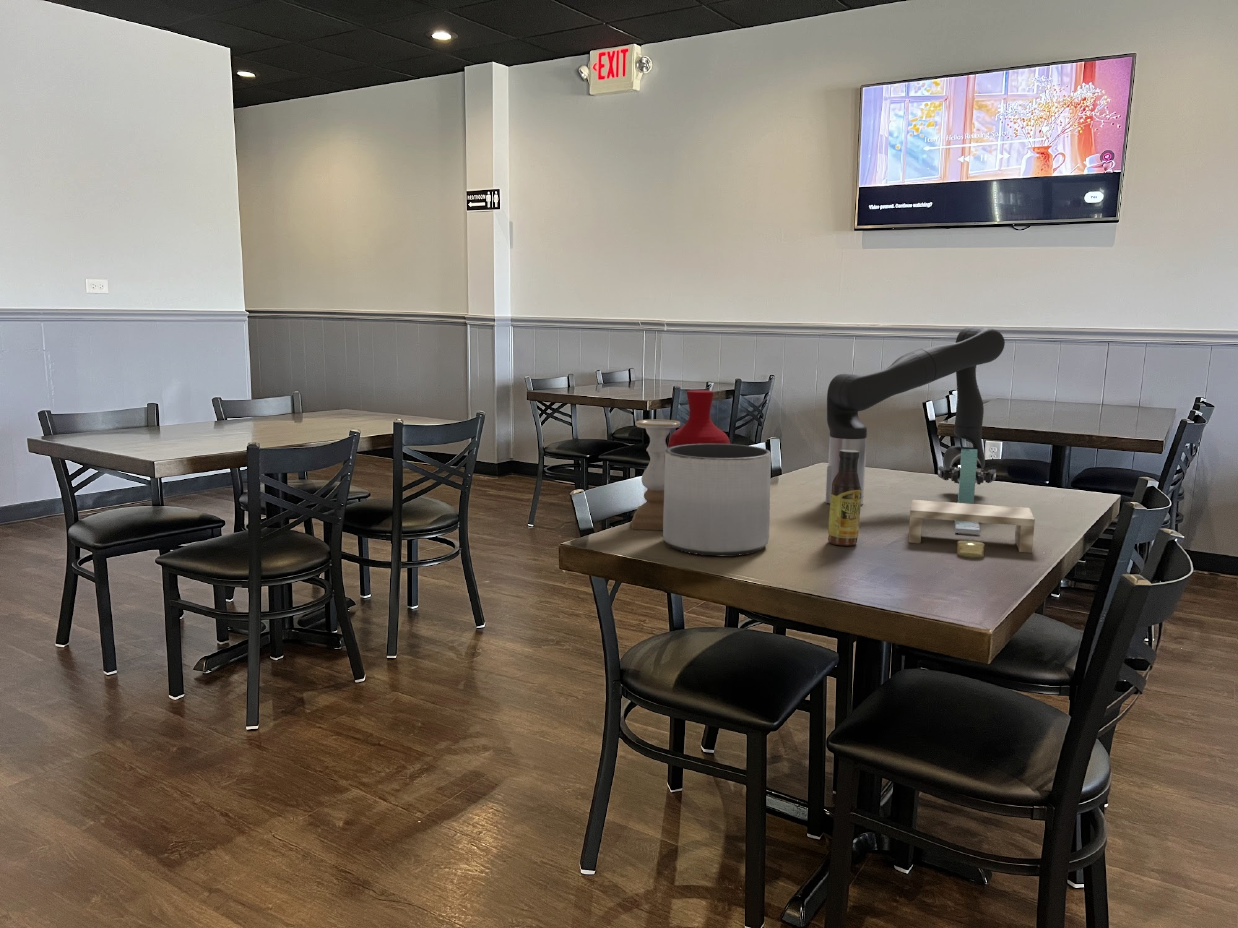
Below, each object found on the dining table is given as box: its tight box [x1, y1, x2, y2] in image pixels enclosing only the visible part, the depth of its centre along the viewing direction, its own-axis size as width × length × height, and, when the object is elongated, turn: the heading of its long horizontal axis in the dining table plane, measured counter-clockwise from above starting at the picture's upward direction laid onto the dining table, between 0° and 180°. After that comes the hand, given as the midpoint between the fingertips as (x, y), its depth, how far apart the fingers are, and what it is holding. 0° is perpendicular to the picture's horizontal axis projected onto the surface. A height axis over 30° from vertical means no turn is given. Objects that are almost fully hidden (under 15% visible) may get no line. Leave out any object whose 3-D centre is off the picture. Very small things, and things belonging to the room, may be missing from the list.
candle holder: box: [631, 418, 682, 531], centre depth 200 cm, size 11×11×24 cm
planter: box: [662, 443, 772, 556], centre depth 183 cm, size 22×22×20 cm
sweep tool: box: [954, 449, 981, 536], centre depth 205 cm, size 5×24×16 cm, turn 160°
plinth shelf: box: [908, 499, 1036, 554], centre depth 188 cm, size 24×12×7 cm, turn 70°
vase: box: [667, 389, 731, 448], centre depth 211 cm, size 15×15×30 cm
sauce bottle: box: [827, 450, 862, 547], centre depth 185 cm, size 6×6×20 cm
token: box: [956, 539, 985, 559], centre depth 178 cm, size 5×5×2 cm
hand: (967, 479), depth 211 cm, fingers open, 4 cm apart
